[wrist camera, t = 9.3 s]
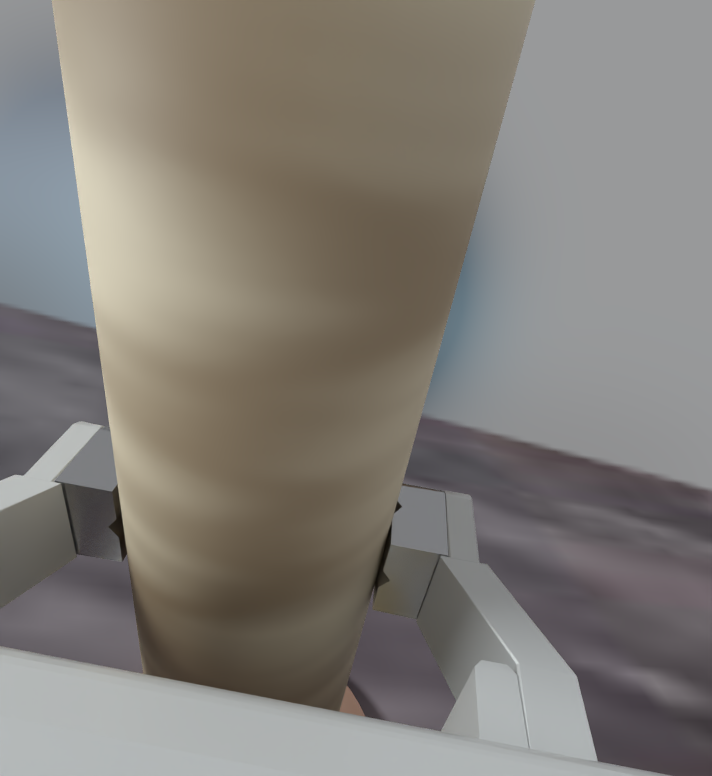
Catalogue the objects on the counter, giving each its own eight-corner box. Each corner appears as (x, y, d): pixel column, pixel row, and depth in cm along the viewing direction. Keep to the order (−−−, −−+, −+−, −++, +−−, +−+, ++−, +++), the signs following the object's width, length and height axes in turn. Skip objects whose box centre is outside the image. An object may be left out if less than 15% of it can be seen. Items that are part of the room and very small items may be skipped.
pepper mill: (119, 808, 12) (-390, -1222, 2) (193, 625, 16) (161, -359, 6) (316, 847, 12) (908, -1008, 2) (342, 654, 16) (578, -285, 6)
